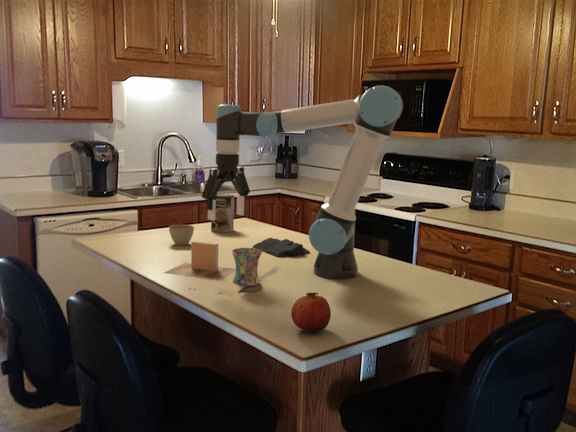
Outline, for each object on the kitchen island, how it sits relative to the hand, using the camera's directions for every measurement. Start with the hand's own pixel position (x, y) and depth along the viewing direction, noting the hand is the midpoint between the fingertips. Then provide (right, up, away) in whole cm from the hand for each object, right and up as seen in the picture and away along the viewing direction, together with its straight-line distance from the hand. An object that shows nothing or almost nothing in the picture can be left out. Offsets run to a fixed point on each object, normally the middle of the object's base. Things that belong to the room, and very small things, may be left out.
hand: (226, 217), depth 196 cm
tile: (-7, -17, +2) cm, 19 cm away
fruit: (+26, -29, -46) cm, 60 cm away
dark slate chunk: (+18, -14, +38) cm, 44 cm away
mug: (+7, -21, -12) cm, 26 cm away
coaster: (+7, -22, -12) cm, 25 cm away
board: (-8, -19, 0) cm, 21 cm away
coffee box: (-9, -6, +72) cm, 73 cm away
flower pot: (-22, -11, +43) cm, 50 cm away
